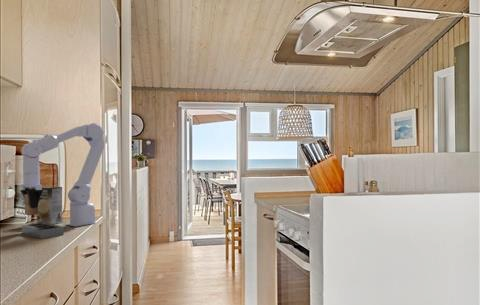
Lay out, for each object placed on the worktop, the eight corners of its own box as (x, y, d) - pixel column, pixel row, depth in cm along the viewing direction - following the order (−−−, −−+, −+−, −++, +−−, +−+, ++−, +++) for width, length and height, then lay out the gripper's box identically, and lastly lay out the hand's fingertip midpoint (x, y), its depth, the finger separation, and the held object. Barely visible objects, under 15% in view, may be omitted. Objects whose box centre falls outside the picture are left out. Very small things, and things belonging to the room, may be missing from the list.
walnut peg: (34, 213, 148) (34, 193, 148) (38, 214, 145) (37, 193, 145) (24, 214, 145) (24, 194, 145) (28, 215, 143) (28, 194, 143)
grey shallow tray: (43, 229, 148) (43, 222, 148) (63, 234, 137) (63, 226, 137) (22, 233, 142) (22, 225, 142) (41, 238, 131) (40, 230, 131)
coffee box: (35, 224, 161) (34, 187, 161) (47, 221, 167) (46, 186, 167) (51, 225, 158) (51, 187, 158) (63, 222, 164) (62, 186, 164)
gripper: (13, 173, 147) (14, 207, 147) (27, 174, 138) (28, 210, 138) (32, 172, 152) (33, 205, 152) (47, 173, 143) (47, 207, 143)
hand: (32, 207), depth 145 cm, fingers closed on walnut peg, 4 cm apart
